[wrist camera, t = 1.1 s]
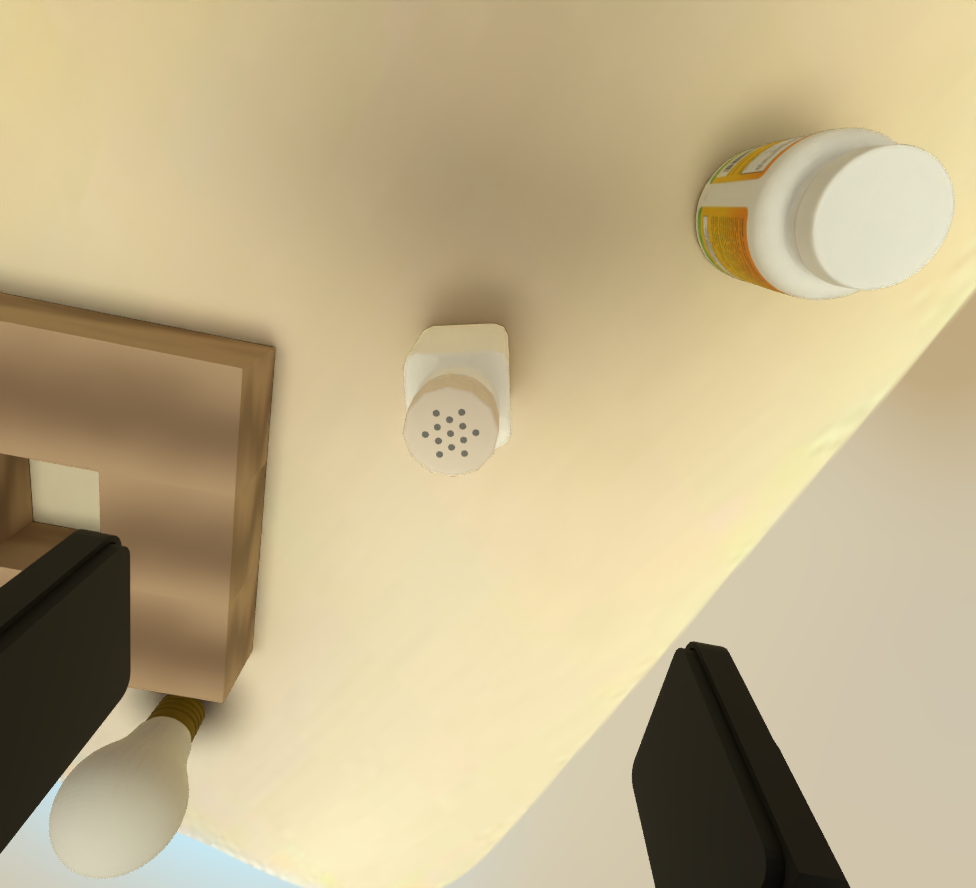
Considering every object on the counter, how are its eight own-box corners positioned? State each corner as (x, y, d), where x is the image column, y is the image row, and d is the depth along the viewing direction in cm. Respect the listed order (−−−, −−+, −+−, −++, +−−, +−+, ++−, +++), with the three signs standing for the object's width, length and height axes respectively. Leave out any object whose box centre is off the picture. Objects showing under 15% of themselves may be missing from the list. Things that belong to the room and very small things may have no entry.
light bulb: (127, 714, 38) (4, 881, 29) (156, 644, 36) (34, 799, 27) (219, 750, 39) (129, 924, 29) (252, 685, 37) (167, 848, 28)
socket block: (-117, 269, 29) (-210, 279, 25) (275, 347, 30) (242, 368, 26) (-69, 594, 35) (-138, 641, 31) (251, 651, 36) (222, 703, 32)
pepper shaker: (507, 320, 29) (508, 372, 20) (510, 403, 30) (512, 486, 21) (421, 324, 29) (384, 377, 20) (428, 406, 30) (396, 490, 22)
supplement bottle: (784, 294, 28) (917, 338, 19) (672, 257, 28) (755, 283, 19) (844, 170, 26) (1023, 152, 17) (725, 127, 26) (846, 85, 17)
